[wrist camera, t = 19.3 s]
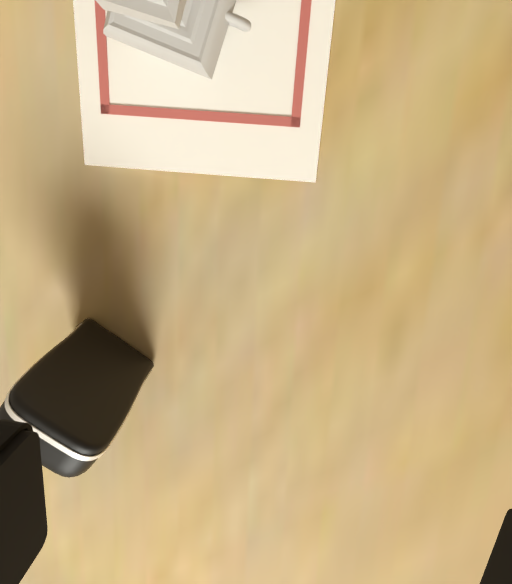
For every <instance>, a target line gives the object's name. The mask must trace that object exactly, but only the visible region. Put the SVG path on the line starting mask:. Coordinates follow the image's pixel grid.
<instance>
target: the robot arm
mask: <svg viewBox="0 0 512 584" xmlns="http://www.w3.org/2000/svg"><path fill="white" fill-rule="evenodd" d="M46 536H47V518H46V507H45V496H44V484H43V473H42V462H41V450H40V439H39V434H38V433H37V432H33V428H32V426H31V424H29V423H24V422H18V421H12V420H6V419H1V420H0V584H19V583H20V581H21V580H22V578H23V577H24V575H25V573H26V572H27V570H28V569H29V567H30V566H31V564H32V563H33V561H34V559H35V558H36V556H37V555H38V553H39V552H40V550H41V548H42V547H43V544H44V542H45V539H46ZM480 584H512V509H509V510H508V511H507V513H506V516H505V518H504V521H503V524H502V526H501V529H500V532H499V534H498V537H497V540H496V542H495V545H494V547H493V550H492V553H491V555H490V558H489V561H488V563H487V566H486V569H485V571H484V574H483V577H482V579H481V582H480Z"/></svg>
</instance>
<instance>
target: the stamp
mask: <svg viewBox="0 0 512 584" xmlns="http://www.w3.org/2000/svg"><path fill="white" fill-rule="evenodd" d="M96 1H97V3H98V4H99V5H100V6H101V7H102V8H103V9H104V10H108V11H107V15H106V20H105V24H104V29H103V34H105V36H107V37H109V38H112V39H114V40H117V41H119V42H122V43H124V44H126V45H129V46H131V47H134V48H136V49H139V50H141V51H143V52H146V53H148V54H151V55H153V56H156V57H158V58H160V59H163V60H165V61H168V62H170V63H173V64H175V65H178V66H180V67H182V68H185V69H187V70H190V71H192V72H195V73H197V74H199V75H202V76H204V77H207V78H209V79H212V77H213V74H214V71H215V68H216V65H217V61H218V58H219V55H220V52H221V48H222V45H223V42H224V39H225V35H226V32H227V29H228V26H233V27H236V28H237V29H239V30H242V31H244V32H248V31H250V29H251V22H250V21H249V20H248V19H246V18H244V17H242V16H239V15H237V14H235V13H233V10H234V6H235V3H236V0H96Z"/></svg>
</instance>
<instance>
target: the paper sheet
mask: <svg viewBox="0 0 512 584" xmlns="http://www.w3.org/2000/svg"><path fill="white" fill-rule="evenodd" d="M73 5H74V20H75V34H76V48H77V62H78V76H79V91H80V105H81V119H82V133H83V147H84V162H85V165H93V166H106V167H119V168H133V169H146V170H159V171H172V172H185V173H199V174H212V175H225V176H238V177H251V178H265V179H278V180H291V181H304V182H316V174H317V165H318V156H319V147H320V137H321V128H322V119H323V110H324V101H325V91H326V82H327V73H328V64H329V55H330V46H331V36H332V27H333V18H334V9H335V0H236V3H235V6H234V10H233V13H235V14H237V15H239V16H242V17H244V18H246V19H248V20H249V21H250V22H251V29H250V31H248V32H244V31H242V30H239V29H237V28H236V27H233V26H228V29H227V32H226V35H225V39H224V42H223V45H222V48H221V52H220V55H219V58H218V61H217V65H216V68H215V71H214V74H213V77H212V79H209V78H207V77H204V76H202V75H199V74H197V73H195V72H192V71H190V70H187V69H185V68H182V67H180V66H178V65H175V64H173V63H170V62H168V61H165V60H163V59H160V58H158V57H156V56H153V55H151V54H148V53H146V52H143V51H141V50H139V49H136V48H134V47H131V46H129V45H126V44H124V43H122V42H119V41H117V40H114V39H112V38H109V37H107V36H105V34H103V29H104V24H105V20H106V15H107V11H108V10H104V9H103V8H102V7H101V6H100V5H99V4H98V3H97V1H96V0H73Z"/></svg>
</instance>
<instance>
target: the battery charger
mask: <svg viewBox="0 0 512 584" xmlns="http://www.w3.org/2000/svg"><path fill="white" fill-rule="evenodd" d="M153 366H154V364H153V362H152V361H150V360H149V359H148V358H146V357H145V356H143V355H142V354H141V353H139V352H138V351H136V350H135V349H134V348H132V347H131V346H129V345H128V344H127V343H125V342H124V341H122V340H121V339H119V338H118V337H116V336H115V335H113V334H112V333H110V332H109V331H108V330H106V329H105V328H103V327H102V326H100V325H99V324H97V323H96V322H94V321H93V320H91V319H85V320H84V321H83V322H82V323H80V325H79V326H78V327H77V328H76V329H75V330H74V331H73V332H72V333H71V334H70V335H69V336H68V337H66V338H65V339H64V340H63V341H61V342H60V343H59V344H58V345H56V346H55V347H54V348H53V349H52V350H50V351H49V352H48V353H47V354H45V355H44V356H43V357H42V358H41V359H39V360H38V361H37V362H36V363H35V364H34V365H33V366H32V367H31V368H30V369H29V370H28V371H26V372H25V373H24V374H23V375H22V376H21V377H20V379H19V380H18V381H17V382H16V383H15V384H14V385H13V386H12V388H11V389H10V390H9V392H8V393H7V395H6V398H5V401H4V402H3V404H2V405H1V407H0V420H1V419H6V420H12V421H18V422H24V423H29V424H31V426H32V428H33V432H37V433H38V434H39V439H40V450H41V462H42V465H43V466H44V467H46V468H48V469H49V470H51V471H53V472H54V473H57V474H59V475H61V476H64V477H75V476H79V475H80V474H82V473H84V472H85V471H87V470H88V469H89V468H90V467H91V466H92V464H93V463H94V462H95V461H96V460H97V459H98V458H99V457H100V456H101V455H102V454H103V453H104V452H105V451H106V450H107V449H108V447H109V446H110V444H111V443H112V441H113V440H114V438H115V437H116V435H117V433H118V432H119V430H120V428H121V427H122V425H123V423H124V421H125V420H126V418H127V416H128V414H129V412H130V410H131V408H132V406H133V404H134V402H135V399H136V397H137V395H138V393H139V391H140V389H141V387H142V385H143V384H144V382H145V380H146V379H147V377H148V375H149V374H150V372H151V371H152V368H153Z"/></svg>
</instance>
